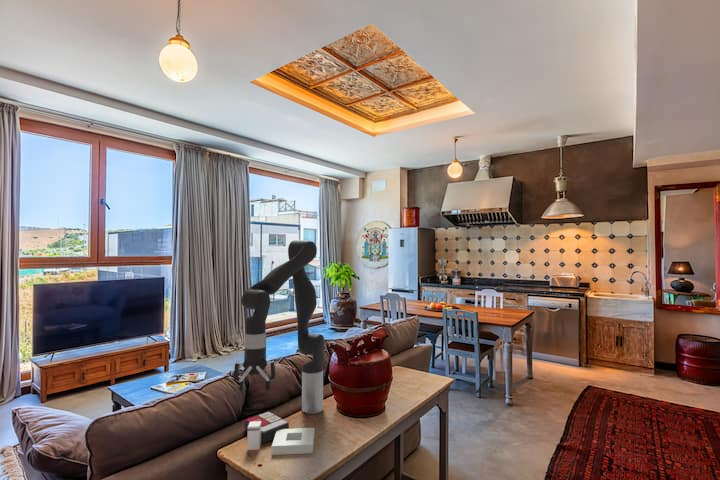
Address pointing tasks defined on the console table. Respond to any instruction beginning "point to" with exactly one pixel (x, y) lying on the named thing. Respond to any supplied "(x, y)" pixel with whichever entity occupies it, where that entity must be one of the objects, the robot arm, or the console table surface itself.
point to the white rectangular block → (254, 435)
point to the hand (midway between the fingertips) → (254, 391)
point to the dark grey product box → (268, 425)
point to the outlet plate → (293, 441)
